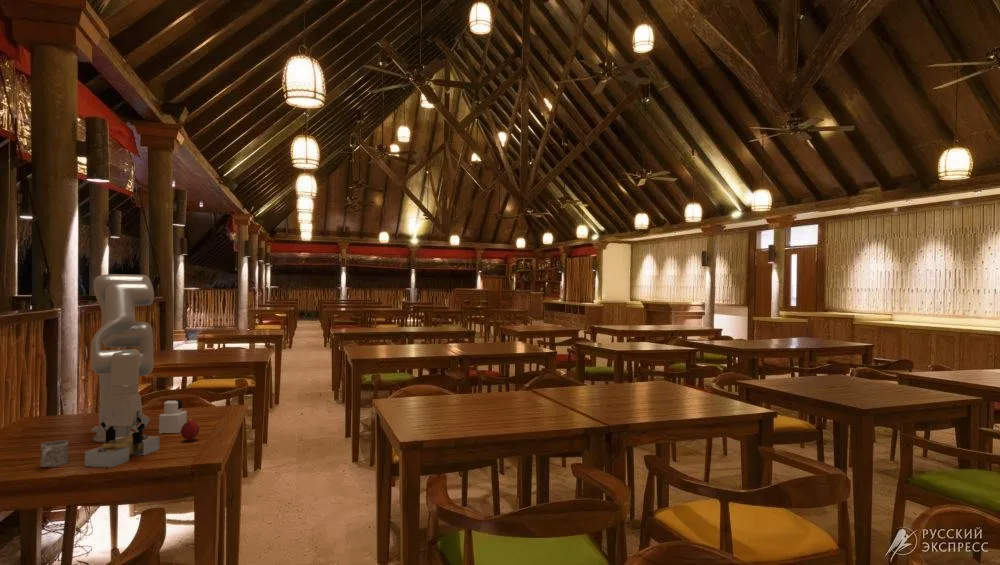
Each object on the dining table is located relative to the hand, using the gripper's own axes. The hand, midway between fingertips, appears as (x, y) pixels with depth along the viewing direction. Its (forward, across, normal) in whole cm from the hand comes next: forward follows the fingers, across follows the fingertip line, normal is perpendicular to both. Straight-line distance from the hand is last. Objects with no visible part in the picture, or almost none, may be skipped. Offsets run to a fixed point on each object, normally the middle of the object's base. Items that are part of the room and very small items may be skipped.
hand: (123, 443), depth 183 cm
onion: (+5, +7, +22) cm, 24 cm away
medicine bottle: (+5, -9, +34) cm, 35 cm away
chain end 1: (+5, 0, -6) cm, 8 cm away
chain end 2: (+5, 0, +6) cm, 8 cm away
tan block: (+4, 0, 0) cm, 4 cm away
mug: (+5, -15, -11) cm, 19 cm away
